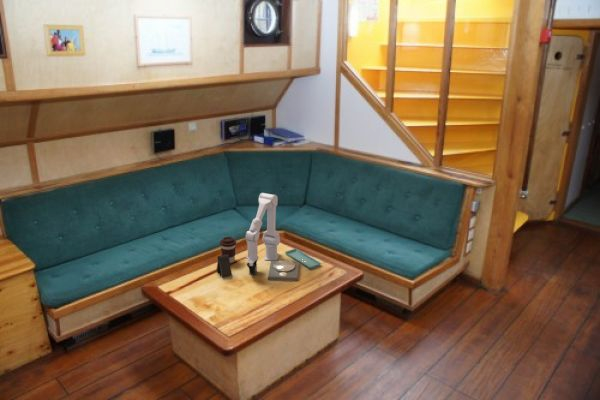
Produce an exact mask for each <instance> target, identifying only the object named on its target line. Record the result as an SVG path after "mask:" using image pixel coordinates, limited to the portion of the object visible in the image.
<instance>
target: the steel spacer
mask: <svg viewBox="0 0 600 400" xmlns="http://www.w3.org/2000/svg"><path fill="white" fill-rule="evenodd" d="M257 274H258V264H257V265H256V267H255V272H254V274H250V270H249V269H248V275H249V276H257Z"/></svg>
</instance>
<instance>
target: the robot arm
mask: <svg viewBox="0 0 600 400" xmlns="http://www.w3.org/2000/svg"><path fill="white" fill-rule="evenodd" d="M278 197H279V196H277V194H271V193H265V192H261V193H260V194H259V196H258V208H257V213H256V216H255V218H253V219H252V221H251V224H250V227H249V230H248V231H246V232H245V237H244V239H245V240H246V244H247V255H246V256H245V259H246V260H247V261H248V262H247V263H246V266H247V267H248V271H249V270H250V274H254V272H255V267H256V265H257V266H258V263H257V262H258V260H259V255H258V254H259V253H258V241H259V239H260V231H261V227H262V225H263V221H262V220H263V217H264V216H265V213H266V211H267V213H266V214H267V215H266V218H267V221H266V230H265V231H263V235H262V243H263V244H264V246H265V256H264V260H265V261H278V258H279V252H278V246H279V244H280V242H281V237H280V233H279V232H278V231H277V230H276V219H277V218H276V214H277V213H276V211H277V209H276V208H277V206H278V203H279V202H278V200H279V198H278ZM250 274H249V275H250Z"/></svg>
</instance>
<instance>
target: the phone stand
mask: <svg viewBox="0 0 600 400" xmlns="http://www.w3.org/2000/svg"><path fill="white" fill-rule="evenodd" d="M216 273H217V274H218V275H219V276H220V277H221V278H227V277H230V276H231V277H232V276H233V274H232V268H231V263H230V261H229V255H227V254H225V255H222V254H221V255H218V256H217V263H216Z"/></svg>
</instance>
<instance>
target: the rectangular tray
mask: <svg viewBox="0 0 600 400" xmlns="http://www.w3.org/2000/svg"><path fill="white" fill-rule="evenodd" d="M284 254H285V255H286V256H288V257H289V258H290V259H292V260H293V261H298V262H299V265H302V266H303V265H304V266H303V267H305V268H307V269H308V270H312V269H315V268H318V267H320V266H321V264H322V262H320V261H318V260H316V259H314V258H313V257H311V256H310V255H308V254H306V253H304V252H303V251H302V250H300V249H298V248H293V249H290V250H288V251H285V252H284ZM302 259H303V260H302ZM302 261H303V262H302ZM304 261H306V262H304Z"/></svg>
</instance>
